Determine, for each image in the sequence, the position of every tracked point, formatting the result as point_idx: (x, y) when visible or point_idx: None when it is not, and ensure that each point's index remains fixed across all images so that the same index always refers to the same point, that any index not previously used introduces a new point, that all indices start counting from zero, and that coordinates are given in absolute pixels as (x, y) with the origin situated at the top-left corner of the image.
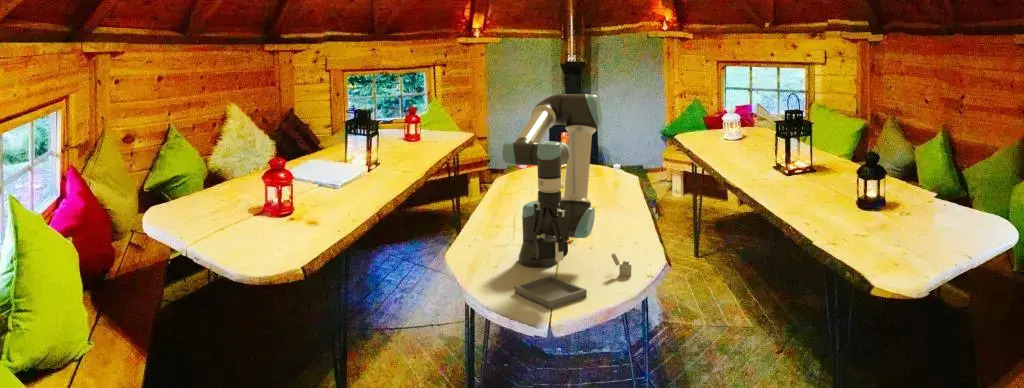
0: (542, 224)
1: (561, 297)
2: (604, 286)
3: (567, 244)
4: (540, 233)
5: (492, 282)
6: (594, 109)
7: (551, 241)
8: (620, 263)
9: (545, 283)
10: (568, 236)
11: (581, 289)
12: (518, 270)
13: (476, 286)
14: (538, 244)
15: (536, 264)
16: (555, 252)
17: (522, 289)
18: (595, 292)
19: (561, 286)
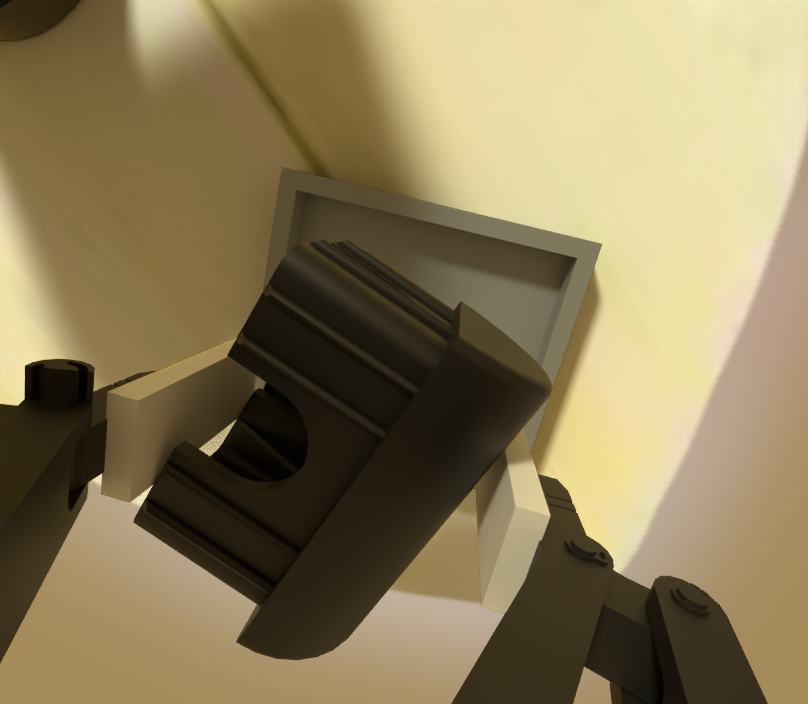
0: (5, 614)
1: (539, 424)
2: (596, 10)
3: (547, 390)
4: (91, 450)
5: (85, 357)
6: None
7: (383, 543)
8: None
9: (300, 236)
10: (740, 651)
11: (570, 255)
12: (37, 129)
13: None
14: (310, 657)
15: (50, 5)
16: (478, 516)
17: None
18: (597, 144)
19: (399, 220)
